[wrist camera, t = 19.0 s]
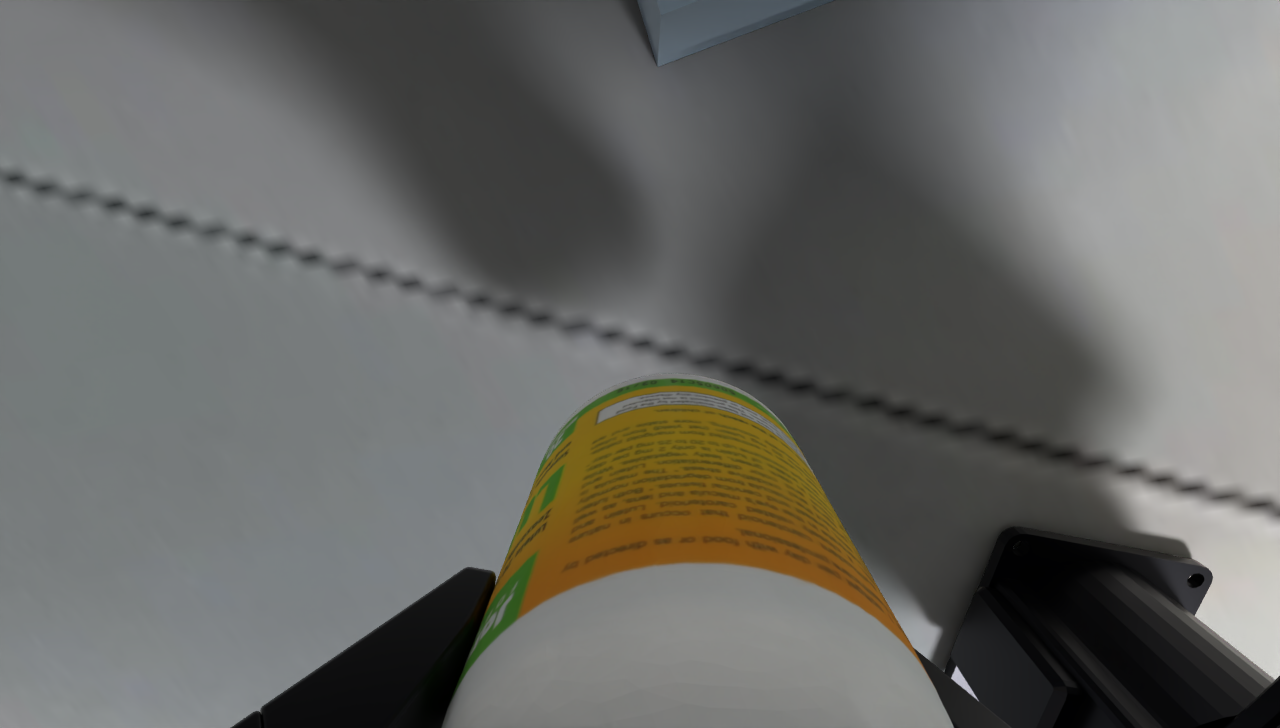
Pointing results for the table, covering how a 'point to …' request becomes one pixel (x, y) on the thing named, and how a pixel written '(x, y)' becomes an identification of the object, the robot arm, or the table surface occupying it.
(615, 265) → the table surface
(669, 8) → the tote
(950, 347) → the table surface
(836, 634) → the supplement bottle
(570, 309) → the table surface
